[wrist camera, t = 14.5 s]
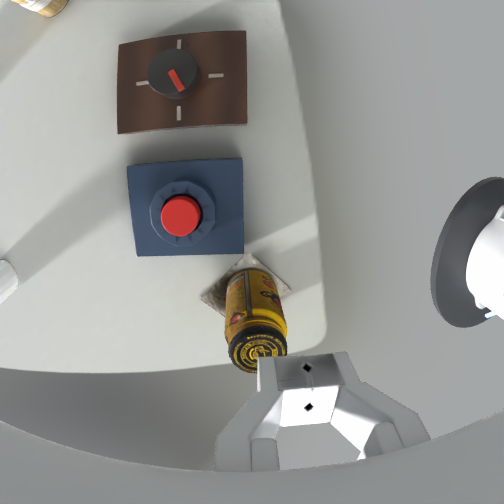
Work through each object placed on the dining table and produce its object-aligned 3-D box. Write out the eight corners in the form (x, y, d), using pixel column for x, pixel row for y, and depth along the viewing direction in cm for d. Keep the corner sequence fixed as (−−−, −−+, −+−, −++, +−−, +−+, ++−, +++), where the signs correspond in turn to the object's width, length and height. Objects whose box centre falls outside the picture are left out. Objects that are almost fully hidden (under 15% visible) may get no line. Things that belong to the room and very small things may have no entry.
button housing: (242, 157, 31) (242, 160, 27) (243, 246, 34) (244, 260, 31) (133, 164, 30) (120, 168, 26) (142, 249, 34) (131, 263, 30)
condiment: (291, 288, 37) (312, 351, 25) (243, 330, 38) (247, 399, 27) (248, 251, 34) (253, 306, 23) (200, 298, 36) (188, 363, 25)
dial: (149, 73, 24) (137, 64, 20) (188, 50, 23) (182, 38, 20) (169, 107, 25) (159, 103, 22) (209, 85, 25) (205, 77, 21)
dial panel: (245, 39, 26) (246, 29, 23) (246, 125, 29) (247, 123, 26) (128, 51, 25) (118, 44, 22) (127, 134, 29) (116, 134, 26)
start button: (199, 194, 28) (197, 198, 27) (201, 230, 30) (199, 235, 28) (163, 196, 28) (159, 200, 26) (166, 231, 29) (162, 236, 28)
